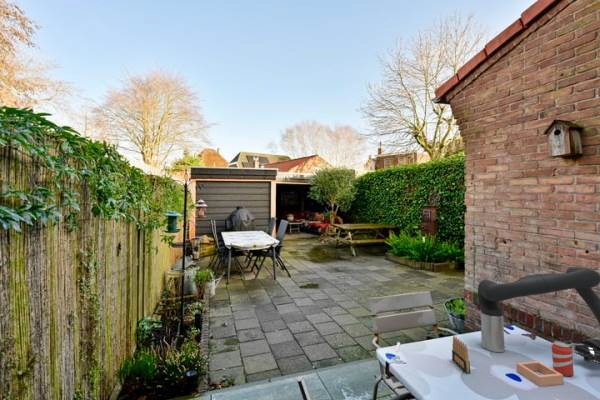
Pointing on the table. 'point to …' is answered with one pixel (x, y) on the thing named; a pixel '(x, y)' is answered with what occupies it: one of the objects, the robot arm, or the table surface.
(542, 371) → the terracotta collar
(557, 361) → the beverage can
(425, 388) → the table surface
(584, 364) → the table surface
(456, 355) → the ammunition clip
